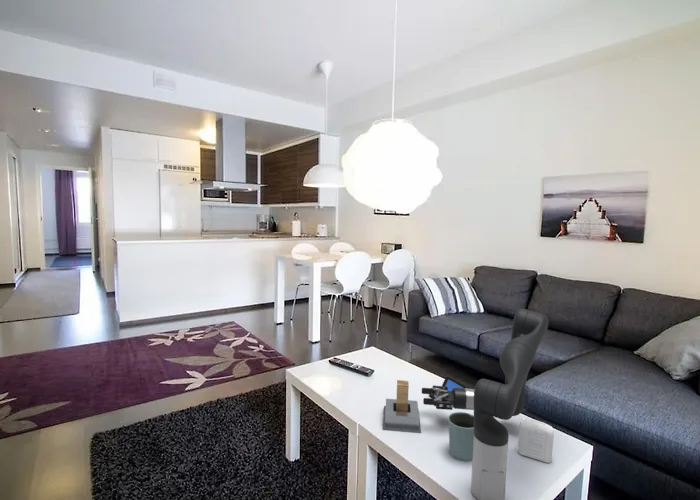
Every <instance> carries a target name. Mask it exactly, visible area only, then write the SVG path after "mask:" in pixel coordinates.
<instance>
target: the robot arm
mask: <svg viewBox="0 0 700 500" xmlns="http://www.w3.org/2000/svg"><path fill="white" fill-rule="evenodd" d="M513 317H514V318H513V320H512V327H511V337H510V340H508V342H507V343H506V344H505V346H504V347H503V349H502V351H501V353H500V355H499V365H500V367H501V370H502V371H503V374H504V376H505V378H504V383H502V382H498V381H495V380H491V379H486V378H480V379H479V380H477V382H476V384H475V386H474V388H467V387H466V388H453V389H452V391H448V387H445V386H442V385H435V384H434V385H432V387H422V388H421V393H422V394H423V395H429V394H432V395H435V396H436V397H437V398H436V399H432V398H431V397H430V398H429V397H424V398H423V400H422V401H423V402H422V403H423V405H426V406H427V405H429V406H434V407H435V409H437V410H446V411H447V410H448V411H449V410H450V411H451V410H453V409H456V410H467V411H469V410H470V411H473V415H474V439H473V457H472V460H471V461H472V462H471V478H470V479H471V481H470V491H471V492H470V493H471V494H472V495H473V497H474V498H475V499H476V500H505V499H506V481H507V464H508V450H509V437H510V436H509V435H510V434H509V430H508V428H507V427H506V426H505V425H504V424H503V423H501V422H500V421H499V419H500V420H505V421H509V420H510V419H512V417H515V416H516V417H517V416H519V415H520V414H521V413H522V411H523V410H524V407H525V395H526V394H525V393H526V392H525V391H526V390H525V387H526V383H527V380H528V379H527V378H528V375H529V372H530V369H531V367H532V365H533V363H534V360H535V358H536V354H537V351H538V349H539V346H540V345H541V343H542V341H543V339H544V337H545V336H546V333H547V331H548V328H549V318H548V316H546V315H545V314H543V313H540V312H537V311H533V310H529V309H526V308H519V309H517V310H516V312H515V314H514V316H513Z"/></svg>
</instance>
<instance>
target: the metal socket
mask: <svg viewBox="0 0 700 500" xmlns="http://www.w3.org/2000/svg"><path fill="white" fill-rule="evenodd" d="M396 400H397V398H395V399H394V398H385V405H383V418H382V419H383V421H382V422H383V423H382V431H394V432H404V433H416V434H418V433H419V434H422V429H421V428H422V427H421V419H420V411H419V405H418V404H419V402H418V400H410V399H408V412H396Z"/></svg>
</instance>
